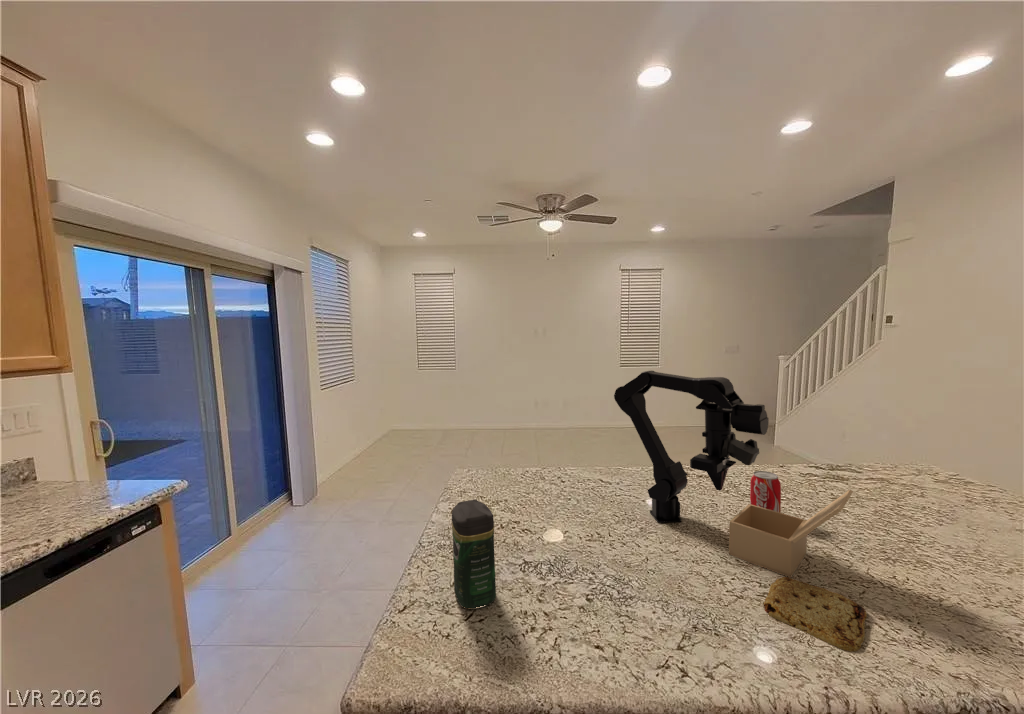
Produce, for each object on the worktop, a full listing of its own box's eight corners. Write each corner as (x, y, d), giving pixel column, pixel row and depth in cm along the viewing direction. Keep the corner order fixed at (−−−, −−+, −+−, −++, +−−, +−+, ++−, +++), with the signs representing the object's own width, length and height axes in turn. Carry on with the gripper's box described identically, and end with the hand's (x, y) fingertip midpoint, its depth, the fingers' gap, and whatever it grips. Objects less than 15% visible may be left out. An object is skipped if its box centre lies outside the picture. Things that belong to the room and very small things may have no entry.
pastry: (741, 585, 81) (741, 571, 81) (827, 585, 80) (827, 570, 80) (798, 654, 64) (799, 636, 64) (909, 654, 63) (910, 636, 63)
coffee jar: (501, 604, 77) (498, 512, 75) (462, 616, 74) (458, 520, 73) (486, 576, 86) (483, 493, 84) (450, 585, 83) (447, 500, 82)
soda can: (785, 524, 104) (786, 480, 103) (756, 522, 106) (756, 478, 105) (773, 511, 111) (774, 470, 110) (745, 510, 112) (746, 469, 112)
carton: (729, 554, 91) (729, 521, 91) (748, 534, 100) (749, 503, 99) (790, 577, 82) (791, 541, 82) (806, 553, 91) (807, 520, 90)
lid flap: (838, 507, 76) (842, 510, 75) (850, 489, 84) (853, 492, 83) (791, 540, 82) (794, 543, 81) (807, 520, 90) (809, 522, 90)
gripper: (739, 441, 85) (740, 512, 86) (767, 426, 97) (767, 487, 98) (688, 433, 94) (689, 497, 94) (719, 420, 106) (720, 477, 107)
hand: (719, 489), depth 98 cm, fingers closed
